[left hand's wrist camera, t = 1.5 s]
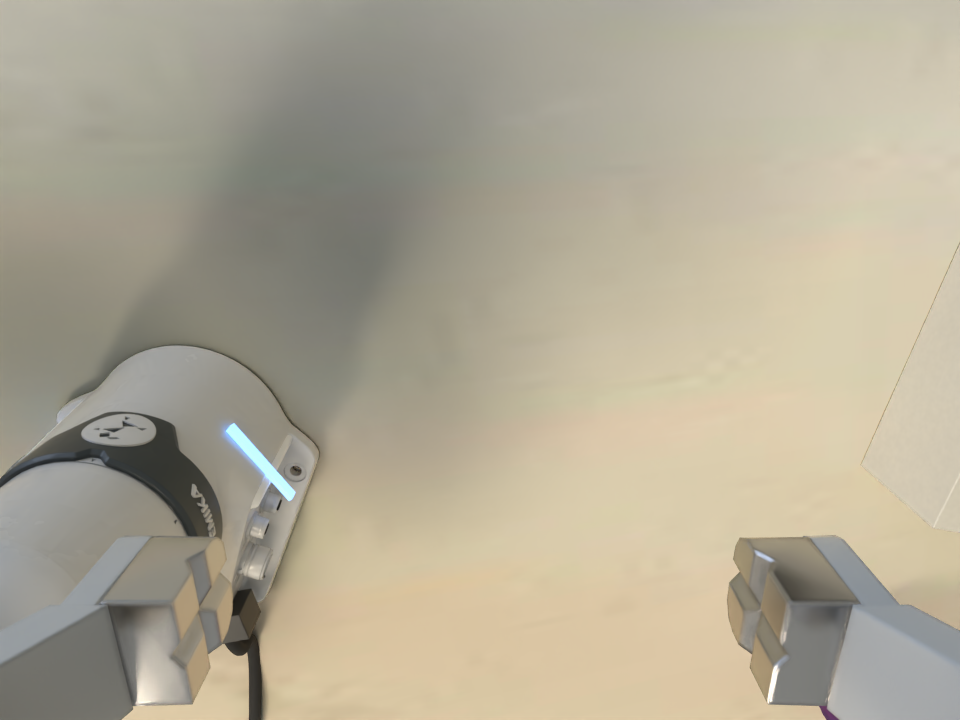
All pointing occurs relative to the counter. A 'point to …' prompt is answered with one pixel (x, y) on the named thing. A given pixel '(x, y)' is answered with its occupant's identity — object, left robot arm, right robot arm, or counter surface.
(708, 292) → the counter surface
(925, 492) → the bar
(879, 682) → the left robot arm
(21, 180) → the counter surface
